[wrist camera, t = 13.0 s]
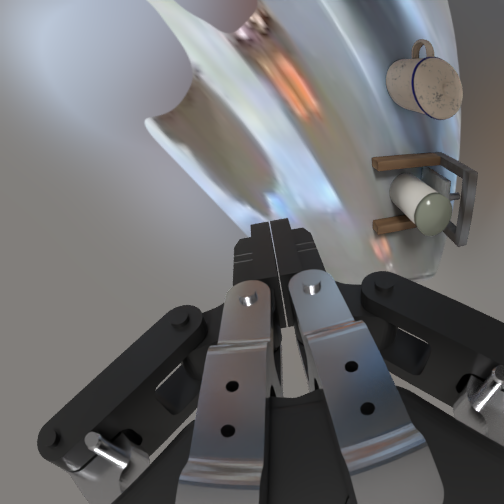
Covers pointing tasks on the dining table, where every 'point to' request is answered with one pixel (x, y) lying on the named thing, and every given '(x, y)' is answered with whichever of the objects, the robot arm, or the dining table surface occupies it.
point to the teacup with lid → (425, 84)
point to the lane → (432, 159)
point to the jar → (421, 204)
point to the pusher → (438, 183)
